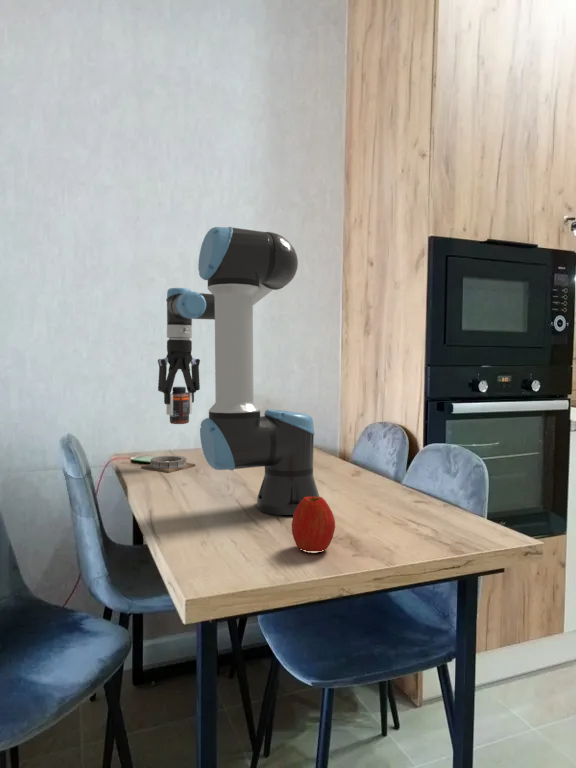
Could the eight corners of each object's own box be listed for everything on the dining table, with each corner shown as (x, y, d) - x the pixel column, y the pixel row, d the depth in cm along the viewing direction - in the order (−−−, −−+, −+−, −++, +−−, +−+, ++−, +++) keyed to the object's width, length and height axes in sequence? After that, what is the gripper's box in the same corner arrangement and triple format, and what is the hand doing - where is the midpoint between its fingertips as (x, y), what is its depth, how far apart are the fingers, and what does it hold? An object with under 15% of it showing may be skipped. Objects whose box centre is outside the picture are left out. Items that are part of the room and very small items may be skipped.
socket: (168, 472, 166) (168, 464, 166) (141, 467, 172) (141, 459, 172) (195, 466, 176) (195, 458, 176) (168, 461, 182) (168, 454, 182)
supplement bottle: (191, 422, 171) (191, 386, 170) (185, 424, 165) (186, 387, 165) (173, 421, 172) (173, 385, 171) (166, 424, 166) (166, 387, 165)
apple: (332, 542, 107) (333, 488, 106) (337, 558, 98) (338, 499, 98) (290, 542, 106) (291, 488, 106) (292, 558, 98) (292, 499, 98)
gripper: (157, 338, 158) (157, 417, 159) (212, 339, 170) (211, 413, 172) (145, 338, 163) (145, 415, 165) (199, 339, 176) (198, 410, 177)
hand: (179, 413), depth 168 cm, fingers closed on supplement bottle, 6 cm apart
